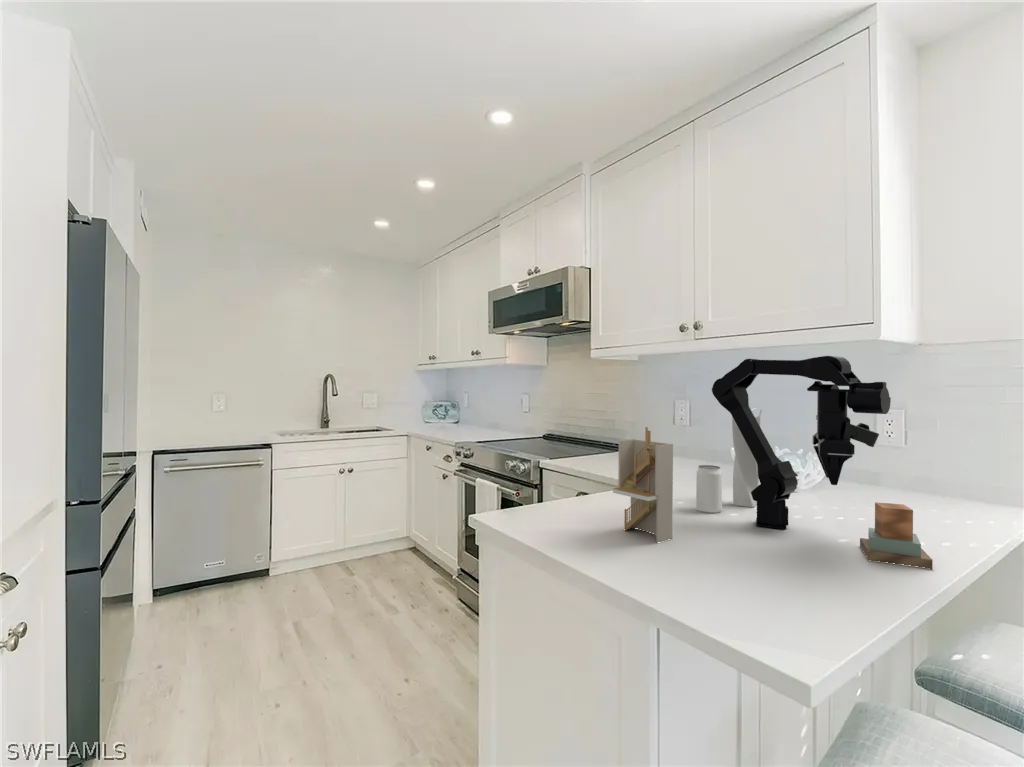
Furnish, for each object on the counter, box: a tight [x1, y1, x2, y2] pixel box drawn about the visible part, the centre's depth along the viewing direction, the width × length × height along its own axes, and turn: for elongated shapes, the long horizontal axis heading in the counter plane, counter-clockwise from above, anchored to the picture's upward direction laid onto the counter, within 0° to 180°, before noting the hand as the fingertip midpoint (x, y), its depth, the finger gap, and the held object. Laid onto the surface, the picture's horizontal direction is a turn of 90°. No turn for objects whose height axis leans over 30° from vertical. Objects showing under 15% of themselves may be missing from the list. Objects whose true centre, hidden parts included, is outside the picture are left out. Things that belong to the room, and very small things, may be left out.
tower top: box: [867, 527, 922, 557], centre depth 103 cm, size 8×8×2 cm
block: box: [874, 502, 914, 541], centre depth 103 cm, size 5×5×6 cm
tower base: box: [859, 537, 933, 570], centre depth 103 cm, size 10×10×2 cm
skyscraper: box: [731, 406, 763, 509], centre depth 146 cm, size 8×8×28 cm
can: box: [695, 464, 723, 514], centre depth 139 cm, size 6×6×12 cm
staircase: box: [612, 426, 674, 543], centre depth 116 cm, size 8×12×26 cm
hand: (831, 481), depth 115 cm, fingers open, 9 cm apart
